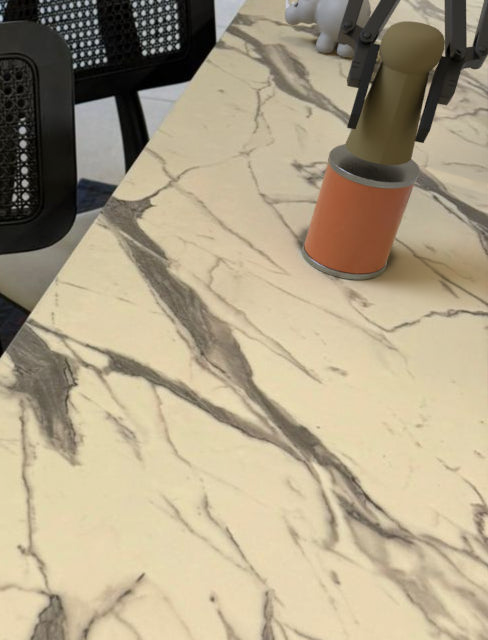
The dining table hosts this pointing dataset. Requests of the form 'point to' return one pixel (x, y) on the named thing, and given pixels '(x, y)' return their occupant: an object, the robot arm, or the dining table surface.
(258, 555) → the dining table surface
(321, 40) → the round bodied animal figurine
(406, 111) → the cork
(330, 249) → the tin can
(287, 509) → the dining table surface
